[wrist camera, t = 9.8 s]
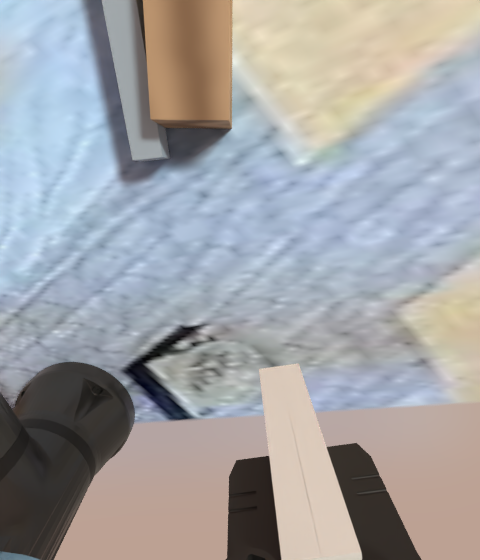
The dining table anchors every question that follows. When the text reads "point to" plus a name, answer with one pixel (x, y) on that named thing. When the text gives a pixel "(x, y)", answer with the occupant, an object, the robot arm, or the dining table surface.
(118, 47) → the grey rectangular bar
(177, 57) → the block
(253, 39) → the dining table surface
